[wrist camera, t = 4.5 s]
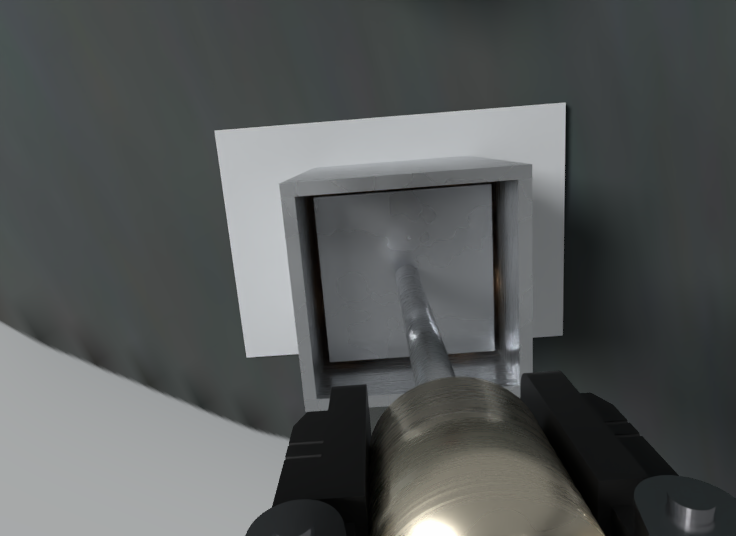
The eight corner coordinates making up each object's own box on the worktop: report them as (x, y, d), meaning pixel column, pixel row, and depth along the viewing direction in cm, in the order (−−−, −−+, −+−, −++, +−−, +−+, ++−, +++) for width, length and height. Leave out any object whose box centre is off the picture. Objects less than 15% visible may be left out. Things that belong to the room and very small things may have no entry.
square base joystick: (469, 155, 30) (532, 164, 18) (473, 303, 32) (532, 396, 20) (314, 167, 30) (278, 183, 19) (328, 314, 32) (305, 411, 21)
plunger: (488, 183, 22) (840, 307, 5) (491, 345, 23) (768, 811, 7) (314, 196, 22) (151, 355, 6) (330, 356, 24) (242, 837, 7)
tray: (561, 103, 30) (565, 102, 29) (559, 332, 33) (562, 335, 33) (217, 130, 30) (214, 130, 30) (248, 353, 34) (246, 357, 33)
